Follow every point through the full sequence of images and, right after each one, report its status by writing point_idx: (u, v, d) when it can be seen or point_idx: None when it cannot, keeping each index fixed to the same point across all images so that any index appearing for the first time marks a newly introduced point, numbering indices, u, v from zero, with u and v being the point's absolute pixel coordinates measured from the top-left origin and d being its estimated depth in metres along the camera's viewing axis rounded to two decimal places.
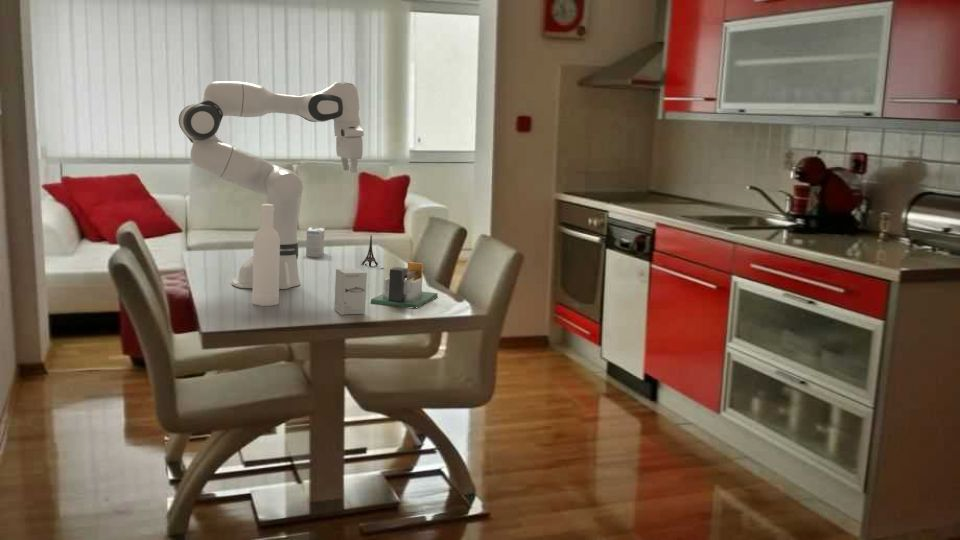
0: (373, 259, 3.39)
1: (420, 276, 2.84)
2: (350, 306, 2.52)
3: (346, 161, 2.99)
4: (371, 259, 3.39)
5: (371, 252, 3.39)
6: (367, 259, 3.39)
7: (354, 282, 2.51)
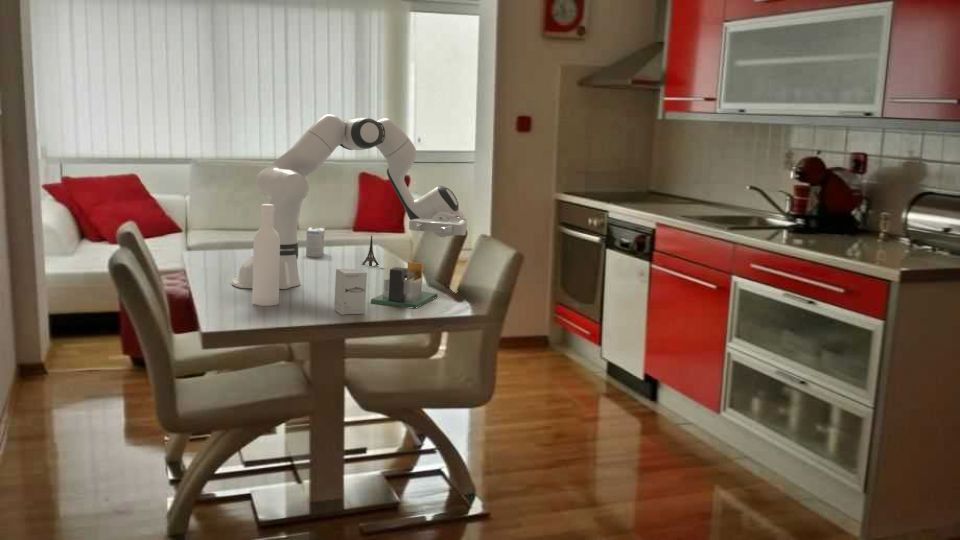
0: (374, 259, 3.39)
1: (420, 276, 2.84)
2: (350, 306, 2.52)
3: None
4: (372, 259, 3.39)
5: (372, 252, 3.39)
6: (368, 259, 3.39)
7: (354, 282, 2.51)
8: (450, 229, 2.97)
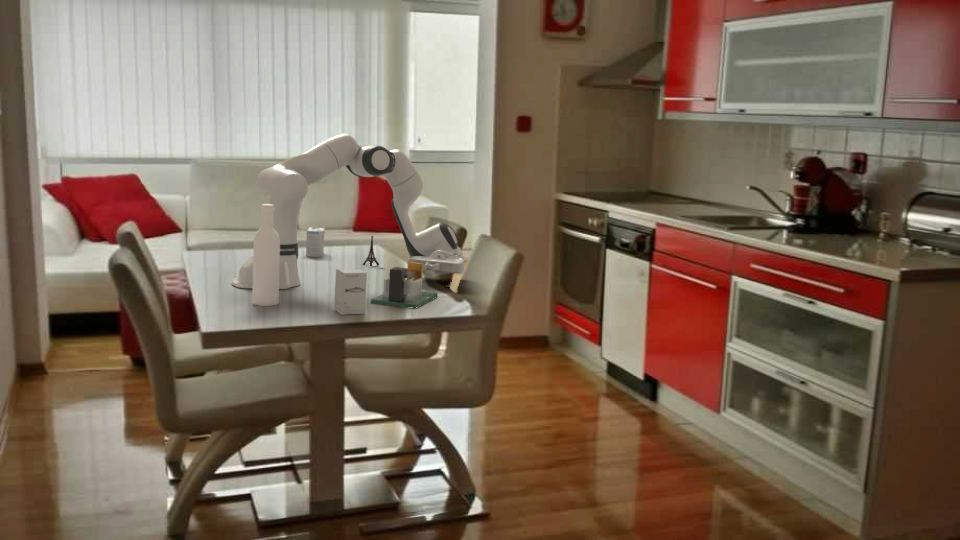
0: (374, 259, 3.39)
1: (420, 276, 2.84)
2: (350, 306, 2.52)
3: None
4: (372, 259, 3.38)
5: (372, 252, 3.39)
6: (368, 259, 3.39)
7: (354, 282, 2.51)
8: (437, 266, 3.00)
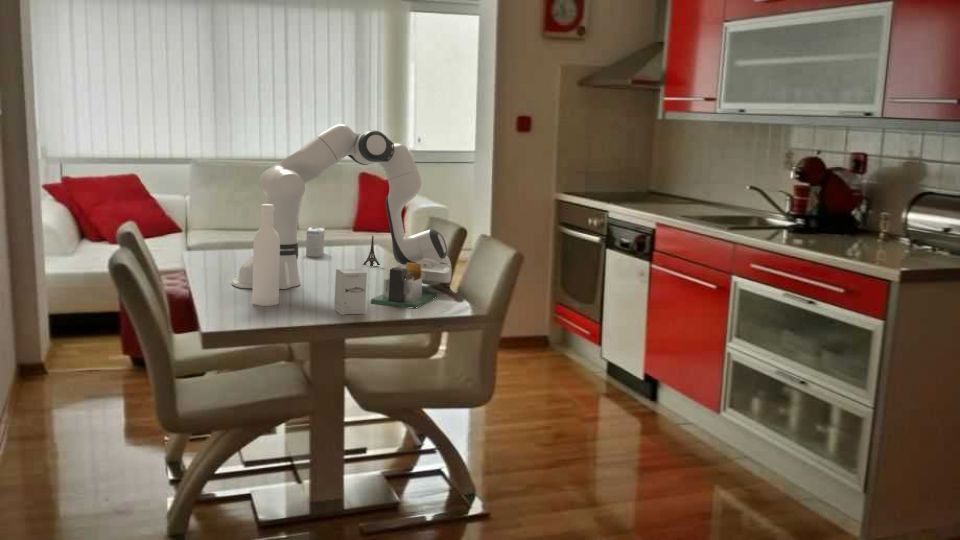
0: (375, 259, 3.39)
1: (419, 277, 2.83)
2: (350, 306, 2.52)
3: None
4: (373, 259, 3.38)
5: (373, 252, 3.39)
6: (369, 259, 3.39)
7: (354, 282, 2.51)
8: (423, 276, 2.87)
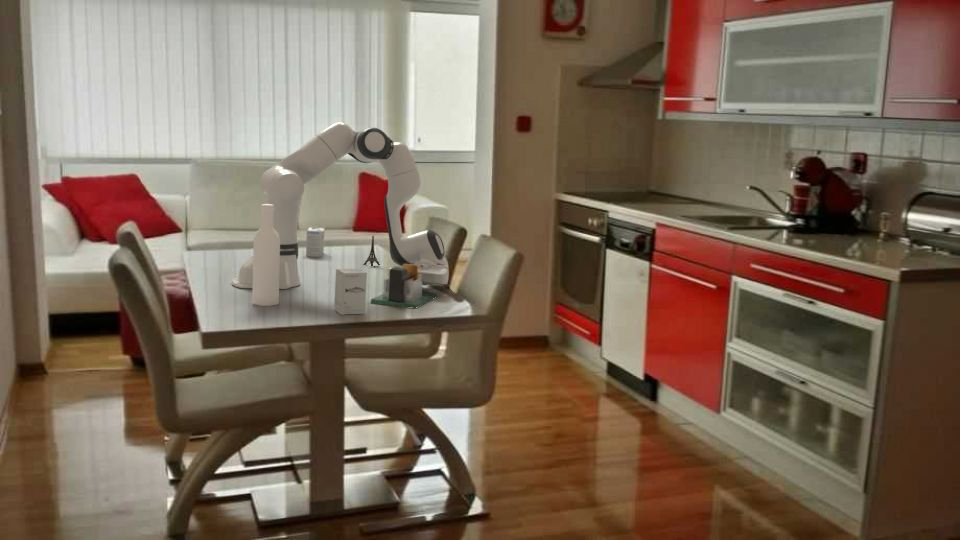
0: (375, 259, 3.39)
1: (415, 278, 2.80)
2: (350, 306, 2.52)
3: None
4: (373, 259, 3.38)
5: (373, 252, 3.39)
6: (369, 259, 3.39)
7: (354, 282, 2.51)
8: (419, 277, 2.84)
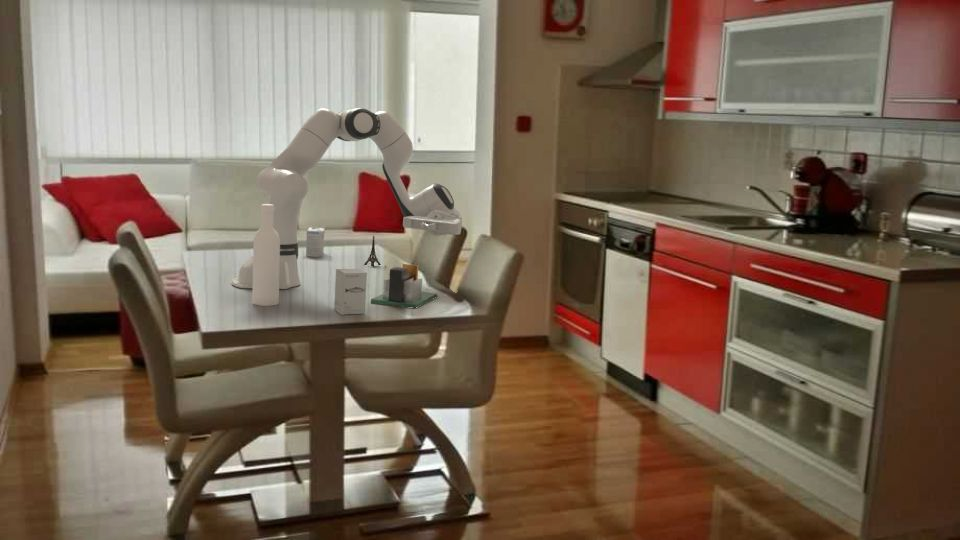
0: (376, 259, 3.39)
1: (415, 278, 2.80)
2: (350, 306, 2.52)
3: None
4: (374, 259, 3.38)
5: (374, 252, 3.39)
6: (370, 259, 3.38)
7: (354, 282, 2.51)
8: (434, 226, 2.93)
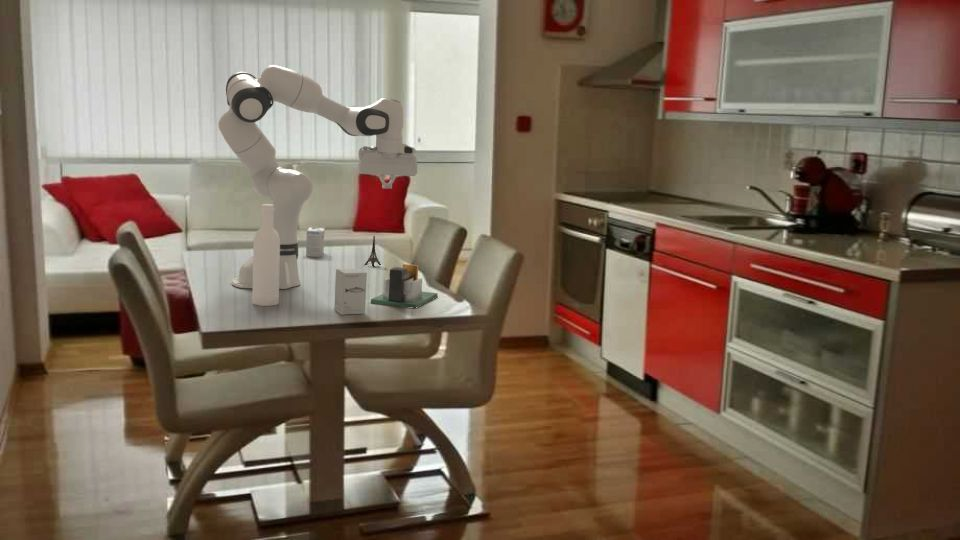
0: (376, 259, 3.39)
1: (415, 278, 2.80)
2: (350, 306, 2.52)
3: None
4: (374, 259, 3.38)
5: (374, 252, 3.39)
6: (370, 259, 3.38)
7: (354, 282, 2.51)
8: None
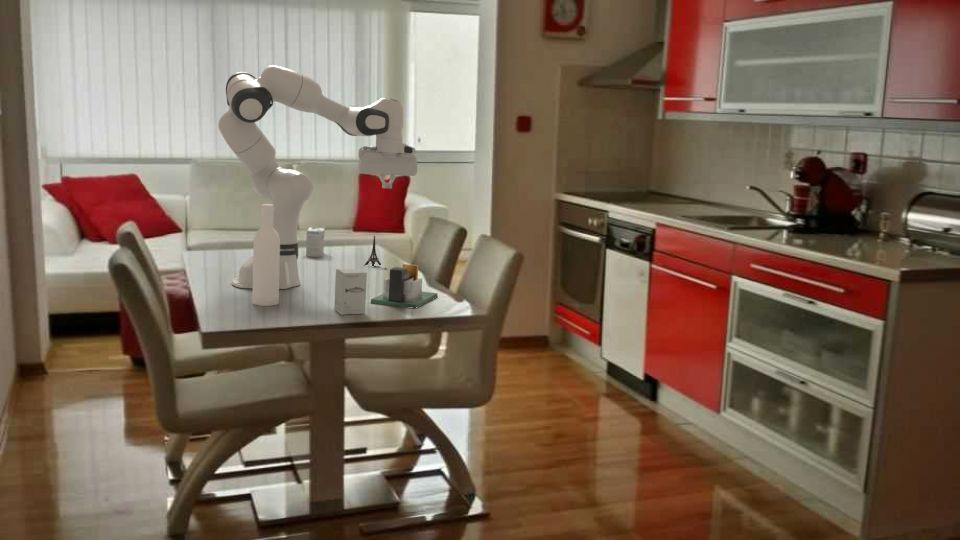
0: (376, 259, 3.39)
1: (415, 278, 2.80)
2: (350, 306, 2.52)
3: None
4: (374, 259, 3.38)
5: (374, 252, 3.38)
6: (370, 259, 3.38)
7: (354, 282, 2.51)
8: None
